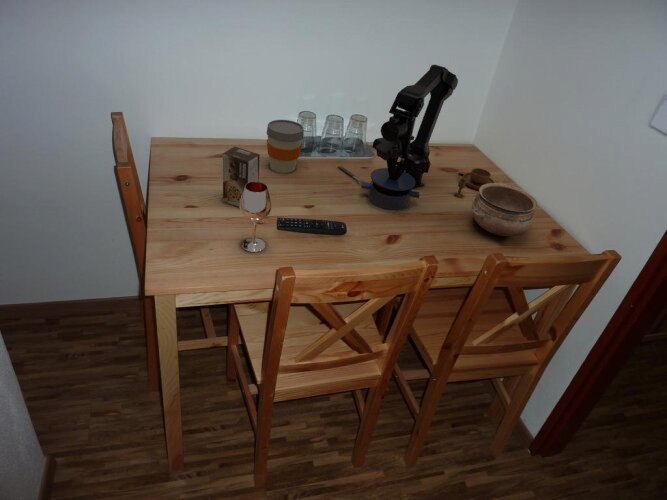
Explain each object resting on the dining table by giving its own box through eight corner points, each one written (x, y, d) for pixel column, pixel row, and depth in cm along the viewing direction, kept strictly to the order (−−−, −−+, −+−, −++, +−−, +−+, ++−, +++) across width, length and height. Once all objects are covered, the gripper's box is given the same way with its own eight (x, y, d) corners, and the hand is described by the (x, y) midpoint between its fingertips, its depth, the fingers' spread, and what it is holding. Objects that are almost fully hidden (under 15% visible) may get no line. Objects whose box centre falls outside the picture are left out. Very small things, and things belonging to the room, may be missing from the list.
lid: (371, 167, 171) (374, 153, 168) (414, 175, 170) (418, 161, 167) (368, 187, 159) (371, 173, 156) (414, 195, 158) (418, 181, 155)
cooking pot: (484, 253, 150) (497, 218, 143) (446, 219, 163) (456, 186, 156) (545, 240, 161) (559, 207, 154) (505, 210, 174) (516, 178, 167)
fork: (372, 188, 175) (369, 164, 173) (367, 189, 173) (363, 165, 171) (345, 188, 187) (342, 165, 185) (340, 189, 186) (336, 167, 184)
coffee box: (258, 202, 157) (261, 154, 148) (247, 210, 152) (248, 161, 143) (233, 193, 160) (234, 145, 151) (221, 201, 155) (221, 152, 146)
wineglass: (239, 235, 141) (241, 178, 131) (269, 237, 142) (272, 180, 132) (237, 253, 135) (238, 193, 124) (268, 254, 136) (272, 196, 125)
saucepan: (361, 187, 174) (364, 172, 171) (416, 196, 174) (419, 182, 171) (357, 206, 163) (360, 191, 160) (416, 216, 163) (420, 201, 159)
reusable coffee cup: (273, 177, 172) (276, 135, 163) (259, 161, 181) (261, 120, 172) (306, 172, 178) (310, 132, 169) (291, 157, 186) (294, 118, 178)
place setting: (504, 195, 183) (510, 180, 180) (457, 198, 177) (462, 183, 173) (478, 172, 197) (482, 158, 193) (433, 175, 190) (437, 160, 186)
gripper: (363, 124, 156) (355, 169, 165) (405, 148, 145) (394, 196, 153) (390, 119, 162) (381, 163, 171) (432, 142, 151) (420, 188, 160)
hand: (393, 177), depth 164 cm, fingers closed on lid, 3 cm apart
